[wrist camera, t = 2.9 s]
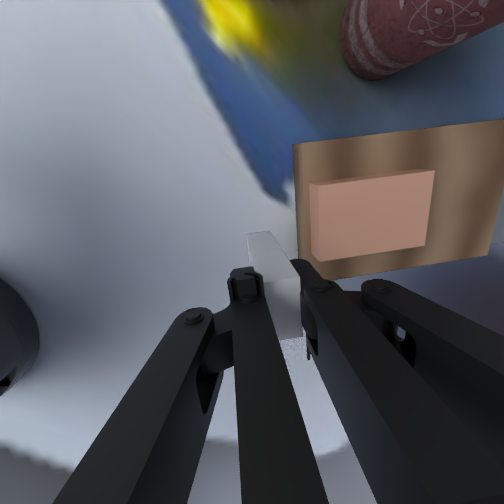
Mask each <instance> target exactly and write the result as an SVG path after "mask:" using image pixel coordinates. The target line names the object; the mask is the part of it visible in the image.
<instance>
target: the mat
mask: <svg viewBox="0 0 504 504" xmlns="http://www.w3.org/2000/svg"><path fill="white" fill-rule="evenodd" d="M503 242H504V187H503V191H502V196H501V200H500V204H499V209H498V213H497V217H496V221H495V226H494V230H493V234H492V239H491V243H490V245H491V244H497V243H503Z"/></svg>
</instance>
